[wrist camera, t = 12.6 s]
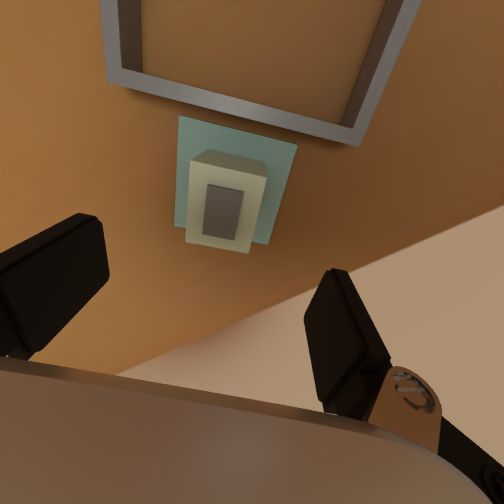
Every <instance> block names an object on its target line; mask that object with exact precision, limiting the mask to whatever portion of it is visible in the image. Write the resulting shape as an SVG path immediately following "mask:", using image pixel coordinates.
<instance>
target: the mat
mask: <svg viewBox="0 0 504 504" xmlns="http://www.w3.org/2000/svg"><path fill="white" fill-rule="evenodd" d="M297 146H298V145H297V144H293V143H289V142H285V141H281V140H277V139H273V138H269V137H265V136H261V135H257V134H253V133H249V132H245V131H241V130H237V129H233V128H229V127H225V126H221V125H217V124H213V123H209V122H205V121H201V120H197V119H193V118H189V117H185V116H181V115H179V129H178V151H177V173H176V196H175V218H174V226H177V227H182V228H186V218H187V203H188V187H189V172H190V160H192V159H193V158H195V157H196V156H198V155H199V154H201V153H202V152H204V151H206V150H207V149H211V150H215V151H219V152H224V153H228V154H232V155H237V156H241V157H245V158H250V159H254V160H258V161H263V162H265V168H266V175H267V180H266V184H265V188H264V192H263V196H262V200H261V204H260V209H259V213H258V217H257V221H256V225H255V229H254V234H253V238H252V242H255V243H260V244H265V245H268V243H269V240H270V237H271V233H272V230H273V227H274V223H275V220H276V216H277V213H278V210H279V206H280V203H281V200H282V196H283V193H284V189H285V186H286V183H287V179H288V176H289V173H290V169H291V166H292V162H293V159H294V156H295V152H296V149H297Z"/></svg>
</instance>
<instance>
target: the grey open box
mask: <svg viewBox="0 0 504 504" xmlns="http://www.w3.org/2000/svg"><path fill="white" fill-rule="evenodd" d="M421 2H422V0H386V3H385V6H384V9H383V11H382V14H381V17H380V19H379V22H378V25H377V27H376V30H375V33H374V36H373V38H372V41H371V44H370V46H369V49H368V52H367V54H366V57H365V60H364V63H363V65H362V68H361V71H360V73H359V76H358V79H357V81H356V84H355V87H354V90H353V92H352V95H351V98H350V100H349V103H348V106H347V108H346V111H345V114H344V116H343V119H342V122H341V125H336V124H332V123H328V122H324V121H321V120H317V119H313V118H309V117H305V116H302V115H298V114H294V113H290V112H287V111H283V110H279V109H275V108H271V107H268V106H264V105H260V104H256V103H253V102H249V101H245V100H241V99H237V98H234V97H230V96H226V95H222V94H219V93H215V92H211V91H207V90H203V89H200V88H196V87H192V86H188V85H184V84H181V83H177V82H173V81H169V80H166V79H162V78H158V77H154V76H150V75H147V74H143V73H142V58H141V21H140V0H100V9H101V20H102V31H103V42H104V53H105V64H106V75H107V83H111V84H115V85H119V86H123V87H126V88H130V89H134V90H138V91H142V92H146V93H150V94H154V95H158V96H161V97H165V98H169V99H173V100H177V101H181V102H185V103H189V104H193V105H196V106H200V107H204V108H208V109H212V110H216V111H220V112H224V113H228V114H232V115H235V116H239V117H243V118H247V119H251V120H255V121H259V122H263V123H267V124H270V125H274V126H278V127H282V128H286V129H290V130H294V131H298V132H302V133H305V134H309V135H313V136H317V137H321V138H325V139H329V140H333V141H337V142H340V143H344V144H348V145H352V146H356V147H360V145H361V142H362V140H363V138H364V135H365V133H366V130H367V128H368V126H369V123H370V121H371V119H372V116H373V114H374V112H375V109H376V107H377V105H378V102H379V100H380V98H381V95H382V93H383V91H384V88H385V86H386V84H387V81H388V79H389V77H390V74H391V72H392V70H393V67H394V65H395V63H396V60H397V58H398V56H399V53H400V51H401V49H402V46H403V44H404V42H405V39H406V37H407V35H408V32H409V30H410V28H411V25H412V23H413V21H414V18H415V16H416V14H417V11H418V9H419V7H420V4H421Z"/></svg>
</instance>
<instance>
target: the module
mask: <svg viewBox="0 0 504 504" xmlns="http://www.w3.org/2000/svg"><path fill="white" fill-rule="evenodd" d="M266 180H267V175H266V168H265V162H263V161H258V160H254V159H250V158H245V157H241V156H237V155H232V154H228V153H224V152H219V151H215V150H211V149H207V150H206V151H204V152H202V153H201V154H199V155H198V156H196V157H195V158H193V159H192V160H190V172H189V187H188V203H187V218H186V233H185V242H189V243H194V244H199V245H204V246H210V247H215V248H220V249H225V250H230V251H236V252H241V253H246V254H249V250H250V246H251V242H252V238H253V234H254V229H255V225H256V221H257V217H258V213H259V209H260V204H261V200H262V196H263V192H264V188H265V184H266Z"/></svg>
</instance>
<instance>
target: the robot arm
mask: <svg viewBox="0 0 504 504" xmlns="http://www.w3.org/2000/svg"><path fill="white" fill-rule="evenodd" d="M109 276H110V273H109V266H108V259H107V253H106V246H105V239H104V232H103V226H102V223H101V221H99V220H98V218H97V217H96V216H92V215H87V214H83V213H77V214H75V215H73V216H71V217H69V218H67V219H65V220H63V221H61V222H59V223H57V224H55V225H54V226H52V227H50V228H48V229H46V230H44V231H42V232H40V233H38V234H36V235H34V236H33V237H31V238H29V239H27V240H25V241H23V242H21V243H19V244H17V245H15V246H13V247H11V248H10V249H8V250H6V251H4V252H2V253H0V504H504V467H503V466H502V465H501V464H500V463H498V462H497V461H496V460H495V459H493V458H492V457H491V456H490V455H489V454H487V453H486V452H485V451H484V450H482V449H481V448H480V447H479V446H478V445H476V444H475V443H474V442H473V441H472V440H470V439H469V438H468V437H467V436H466V435H464V434H463V433H462V432H461V431H459V430H458V429H457V428H456V427H455V426H454V425H452V424H451V423H450V422H449V421H447V420H446V419H445V418H444V417H443V416H442V408H441V404H440V402H439V399H438V397H437V395H436V394H435V392H434V391H433V389H432V388H431V387H430V386H429V385H428V384H427V382H425V380H423V379H422V378H421V377H420V376H418V375H417V374H416V373H414V372H412V371H411V370H409V369H406V368H404V367H398V366H395V367H393V366H392V364H391V362H390V359H391V357H390V355H389V353H388V351H387V349H386V347H385V345H384V343H383V341H382V339H381V337H380V335H379V333H378V331H377V329H376V327H375V326H374V323H373V321H372V319H371V318H370V315H369V314H368V312H367V310H366V308H365V306H364V304H363V302H362V300H361V298H360V296H359V294H358V292H357V290H356V288H355V286H354V284H353V282H352V280H351V278H350V276H349V274H348V273H347V271H344V270H340V269H335V268H332V269H331V270H330V271H328V270H327V271H326V272H325V274H324V276H323V278H322V280H321V282H320V284H319V286H318V288H317V290H316V292H315V294H314V296H313V298H312V300H311V302H310V304H309V306H308V308H307V310H306V312H305V315H304V325H305V331H306V336H307V341H308V347H309V353H310V358H311V364H312V370H313V375H314V381H315V386H316V392H317V397H318V399H319V401H321V402H322V404H323V409H324V412H325V413H322V412H317V411H312V410H307V409H302V408H297V407H292V406H286V405H280V404H274V403H269V402H263V401H257V400H252V399H247V398H241V397H235V396H230V395H224V394H219V393H213V392H208V391H202V390H196V389H190V388H184V387H178V386H173V385H167V384H161V383H156V382H150V381H144V380H138V379H132V378H127V377H121V376H115V375H109V374H103V373H97V372H92V371H86V370H80V369H74V368H68V367H62V366H56V365H50V364H44V363H38V362H32V361H28V360H29V359H30V357H31V356H32V355H33V354H34V353H35V352H38V351H41V350H42V349H43V348H44V347H45V346H46V345H47V344H48V343H49V342H50V341H51V340H52V339H53V338H54V337H55V336H56V335H57V334H58V333H59V332H60V331H61V330H62V329H63V328H64V327H65V325H66V324H67V323H68V322H69V321H70V320H71V319H72V318H73V317H74V316H75V315H76V314H77V313H78V312H79V311H80V310H81V309H82V308H83V307H84V306H85V304H86V303H87V302H88V301H89V300H90V299H91V298H92V297H93V296H94V295H95V294H96V293H97V292H98V291H99V290H100V289H101V288H102V287H103V286H104V285H105V283H106V282H107V281H108V279H109ZM7 355H8V356H9V358H8V357H6V356H7ZM327 413H331V414H327ZM332 414H337V415H338V416H337V415H332Z"/></svg>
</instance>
